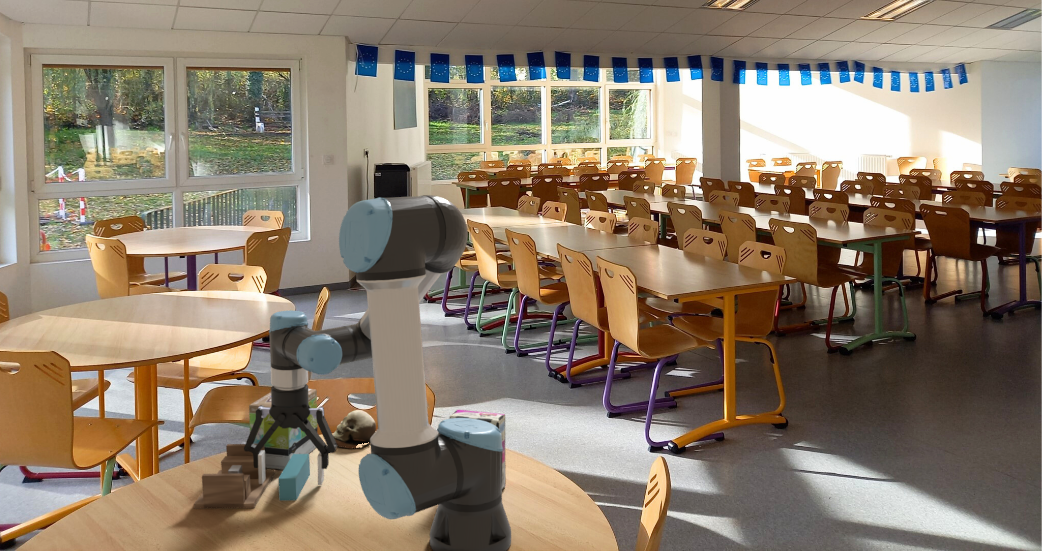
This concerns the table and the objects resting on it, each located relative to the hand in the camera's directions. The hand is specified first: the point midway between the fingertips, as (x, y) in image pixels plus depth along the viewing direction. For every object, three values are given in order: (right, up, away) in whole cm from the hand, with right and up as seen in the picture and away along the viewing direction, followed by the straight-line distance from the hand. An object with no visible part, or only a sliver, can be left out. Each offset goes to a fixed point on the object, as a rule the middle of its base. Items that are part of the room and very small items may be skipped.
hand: (291, 482), depth 183 cm
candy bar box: (+40, -2, 0) cm, 40 cm away
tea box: (-6, +2, +17) cm, 18 cm away
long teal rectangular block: (+1, -1, 0) cm, 2 cm away
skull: (+8, +3, +27) cm, 29 cm away
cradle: (-11, -1, -2) cm, 11 cm away
